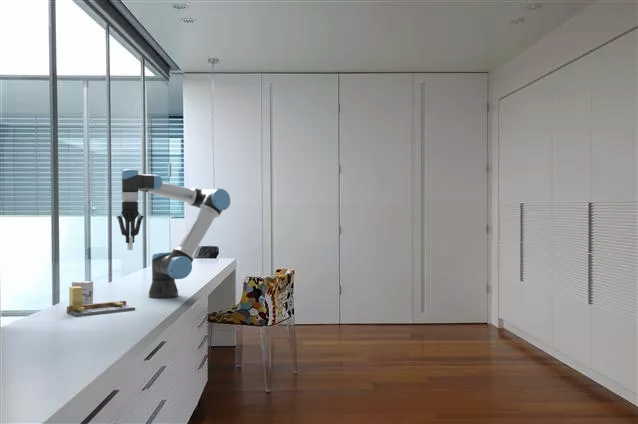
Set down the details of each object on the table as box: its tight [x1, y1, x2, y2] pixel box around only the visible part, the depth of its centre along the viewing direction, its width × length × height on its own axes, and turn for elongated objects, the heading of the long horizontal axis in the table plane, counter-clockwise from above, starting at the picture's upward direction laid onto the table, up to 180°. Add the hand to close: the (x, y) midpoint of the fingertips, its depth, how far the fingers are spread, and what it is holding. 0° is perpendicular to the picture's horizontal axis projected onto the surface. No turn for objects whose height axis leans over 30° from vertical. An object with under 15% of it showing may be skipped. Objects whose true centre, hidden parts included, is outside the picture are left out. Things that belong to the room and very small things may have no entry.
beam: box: [66, 300, 127, 314], centre depth 264 cm, size 26×9×3 cm, turn 130°
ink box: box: [71, 280, 94, 305], centre depth 276 cm, size 9×5×12 cm, turn 84°
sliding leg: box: [68, 286, 85, 311], centre depth 258 cm, size 4×10×11 cm, turn 40°
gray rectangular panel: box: [69, 304, 136, 317], centre depth 261 cm, size 26×8×1 cm, turn 130°
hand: (130, 249), depth 283 cm, fingers closed
